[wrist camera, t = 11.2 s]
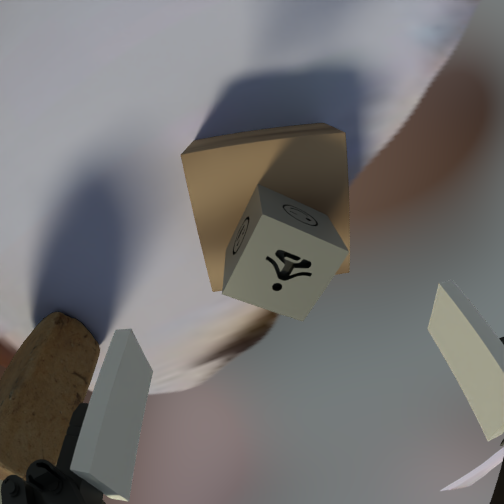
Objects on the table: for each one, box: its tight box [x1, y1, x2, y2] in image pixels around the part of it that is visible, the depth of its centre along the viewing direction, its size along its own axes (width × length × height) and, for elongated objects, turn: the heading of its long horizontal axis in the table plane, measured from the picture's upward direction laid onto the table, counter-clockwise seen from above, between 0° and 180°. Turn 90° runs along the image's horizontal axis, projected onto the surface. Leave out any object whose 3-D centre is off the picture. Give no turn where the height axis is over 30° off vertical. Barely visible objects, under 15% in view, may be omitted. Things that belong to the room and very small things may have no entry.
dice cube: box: [222, 184, 349, 321], centre depth 19 cm, size 5×5×5 cm
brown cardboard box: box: [181, 123, 350, 292], centre depth 23 cm, size 10×10×6 cm
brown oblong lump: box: [0, 312, 100, 481], centre depth 24 cm, size 11×8×20 cm
